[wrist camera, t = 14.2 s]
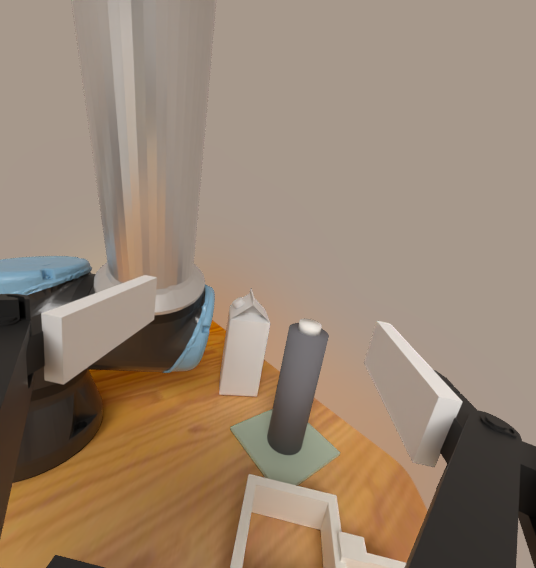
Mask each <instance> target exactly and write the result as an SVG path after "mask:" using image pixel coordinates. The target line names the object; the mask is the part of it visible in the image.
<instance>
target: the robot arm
mask: <svg viewBox="0 0 536 568" xmlns="http://www.w3.org/2000/svg"><path fill="white" fill-rule="evenodd" d="M71 2H72V10H73V17H74V24H75V32H76V39H77V46H78V53H79V60H80V67H81V75H82V82H83V89H84V96H85V103H86V110H87V118H88V125H89V132H90V139H91V146H92V154H93V161H94V168H95V175H96V183H97V189H98V197H99V204H100V211H101V219H102V225H103V233H104V240H105V247H106V254H107V263H106V264H104V265H103V266H102V267H101V268H100V269H99V270H98V271H97V273H96V274H91V273H90V271H91V270H92V268H91V266H90V264H89V262H88V261H87V260H85V259H80V258H78V257H68V256H39V257H22V258H11V259H3V260H0V537H1V533H2V528H3V524H4V519H5V514H6V510H7V505H8V501H9V496H10V491H11V487H12V483H13V482H17V481H21V480H24V479H27V478H30V477H33V476H36V475H38V474H41V473H43V472H45V471H47V470H49V469H52V468H53V467H55V466H57V465H59V464H61V463H62V462H64V461H66V460H67V459H69V458H70V457H72V456H73V455H75V454H76V453H77V452H78V451H80V450H81V449H82V448H83V447H84V446H85V445H86V444H87V443H88V442H89V441H90V440H91V439H92V438H93V437H94V435H95V434H96V432H97V431H98V429H99V427H100V425H101V422H102V411H103V403H102V398H101V395H100V393H99V391H98V389H97V387H96V385H95V382H94V380H93V378H92V376H91V374H90V372H89V369H96V370H121V371H146V372H163V373H169V372H172V371H189V370H192V369H194V368H195V367H196V366H197V365H198V364H199V362H200V360H201V358H202V356H203V353H204V351H205V347H206V344H207V340H208V336H209V328H210V325H211V322H212V317H213V310H214V300H215V298H214V297H215V296H214V295H215V294H214V290H213V288H212V287H210V286H207V285H205V280H204V275H203V273H202V272H201V270H200V269H199V268H198V267H197V266H196V265H195V264H194V254H195V242H196V230H197V218H198V206H199V195H200V184H201V172H202V160H203V149H204V137H205V125H206V113H207V102H208V91H209V79H210V66H211V56H212V44H213V31H214V21H215V9H216V0H71ZM364 364H365V366H366V368H367V370H368V372H369V374H370V376H371V378H372V380H373V382H374V384H375V387H376V389H377V391H378V393H379V395H380V397H381V399H382V401H383V403H384V405H385V407H386V409H387V411H388V413H389V415H390V417H391V419H392V421H393V423H394V425H395V427H396V430H397V431H398V434H399V436H400V438H401V440H402V442H403V444H404V446H405V448H406V450H407V452H408V454H409V456H410V458H411V460H412V462H413V463H417V464H422V465H426V466H431V467H435V465H436V463H437V461H438V458H439V456H440V454H442V456H443V458H444V459H445V461H446V462H447V466H446V468H445V470H444V473H443V475H442V477H441V479H440V482H439V484H438V486H437V488H436V492H435V495H434V497H433V499H432V502H431V504H430V507H429V509H428V512H427V514H426V517H425V519H424V521H423V524H422V526H421V529H420V531H419V534H418V536H417V538H416V541H415V543H414V546H413V548H412V551H411V553H410V556H409V558H408V560H407V563H406V565H405V568H516V554H517V532H518V531H517V530H518V518H519V521H520V524H521V527H522V529H523V533H524V536H525V539H526V542H527V545H528V548H529V552H530V554H531V558H532V560H533V564H534V567H535V568H536V446H533V445H530V444H528V443H525V442H522V439H521V437H520V434H519V433H518V432H517V431H516V430H515V429H514V428H512V427H511V426H510V425H509V424H507V423H506V422H504V421H503V420H501V419H499V418H497V417H496V416H493V415H491V414H489V413H486V412H482V411H477V409H476V408H474V406H473V405H472V404H471V403H470V402H469V401H468V400H467V399H466V398H465V397H464V396H463V395H462V394H460V392H459V391H458V390H457V389H456V388H455V387H454V386H453V385H452V384H451V382H450V381H449V380H448V379H447V378H445V377H444V376H442V375H441V374H440V373H438V372H437V371H435V370H433V369H432V368H431V367H430V366H429V365H428V364H427V363H426V362H425V361H424V359H423V358H422V357H421V356H420V355H419V354H418V353H417V352H416V351H415V350H414V349H413V348H412V347H411V345H410V344H409V343H408V342H407V341H406V340H405V339H404V338H403V337H402V336H401V335H400V334H399V333H398V332H397V330H396V329H395V328H394V327H393V326H392V325H391V324H390V323H385V322H380V321H377V322H376V325H375V328H374V331H373V335H372V338H371V341H370V345H369V348H368V352H367V355H366V358H365V361H364ZM46 568H104V567H101V566H97V565H93V564H89V563H85V562H81V561H77V560H73V559H70V558H66V557H62V556H58V555H55V556H54V557H53V559H52V560H51V562H50V563H49V564H48V566H47V567H46Z"/></svg>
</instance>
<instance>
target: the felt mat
mask: <svg viewBox="0 0 536 568" xmlns="http://www.w3.org/2000/svg"><path fill="white" fill-rule="evenodd" d="M272 410H273V409H271V410H269V411H267V412H264V413H262V414H259V415H257V416H255V417H252V418H250V419H248V420H245V421H243V422H241V423H238V424H236V425H233V426H231V428H230V430H231V431H232V433H233V434H234V435H235V437H236V438H237V439H238V441H239V442H240V443H241V445H242V446H243V448H244V449H245V450H246V452H247V453H248V454H249V456H250V457H251V459H252V460H253V461H254V463H255V464H256V465H257V467H258V468H259V470H260V471H261V472H262V474H263V475H264V476H265V478H268V479H272V480H276V481H280V482H284V483H288V484H292V485H296V486H298V485H299V484H300V483H302V482H303V481H304V480H306V479H307V478H309V477H310V476H311V475H313V474H314V473H315V472H317V471H318V470H320V469H321V468H322V467H324V466H325V465H326V464H328V463H329V462H331V461H332V460H333V459H335V458H336V457H338V456H339V455H340V452H339V451H338V450H337V449H336V448H335V447H334V446H333V445H332V444H331V443H330V442H328V441H327V440H326V439H325V438H324V437H323V436H322V435H321V434H320V433H319V432H318V431H317V430H316V429H314V428H313V427H312V426H311V425H310V424H309V423H307V427H306V432H305V436H304V440H303V444H302V448H301V450H300V451H299V452H298V453H296V454H294V455H283V454H280V453H278V452H276V451H275V450H273V449H272V448H271V446H270V445H269V443H268V440H267V434H268V429H269V425H270V420H271V415H272Z"/></svg>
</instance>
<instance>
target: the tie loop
mask: <svg viewBox="0 0 536 568" xmlns="http://www.w3.org/2000/svg"><path fill="white" fill-rule="evenodd" d="M251 512H253V513H257V514H260V515H264V516H268V517H272V518H276V519H280V520H284V521H288V522H292V523H295V524H299V525H303V526H307V527H311V528H315V529H319V530H321V543H322V557H323V568H405V565H406V563H405V562H401V561H397V560H393V559H389V558H385V557H382V556H378V555H374V554H370V553H367V551H366V546H365V541H364V537H360V536H356V535H352V534H348V533H345V532H342V531H341V524H340V517H339V510H338V503H337V496H336V495H333V494H329V493H325V492H321V491H317V490H312V489H308V488H304V487H300V486H296V485H292V484H288V483H284V482H280V481H276V480H272V479H268V478H264V477H260V476H256V475H252V474H249V475H248V480H247V485H246V490H245V495H244V500H243V505H242V510H241V515H240V520H239V525H238V530H237V535H236V540H235V545H234V550H233V555H232V560H231V565H230V568H242V567H243V560H244V554H245V548H246V542H247V536H248V530H249V524H250V518H251Z"/></svg>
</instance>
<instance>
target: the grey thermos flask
mask: <svg viewBox="0 0 536 568" xmlns="http://www.w3.org/2000/svg"><path fill="white" fill-rule="evenodd" d="M321 327H322V325H321V324H320V323H319V322H317V321H314V320H311V319H301V320H300V322H299V323H295V324H292V325H290V327H289V332H288V336H287V341H286V346H285V351H284V356H283V361H282V366H281V371H280V375H279V380H278V385H277V390H276V395H275V400H274V405H273V410H272V415H271V420H270V425H269V429H268V434H267V440H268V443H269V445H270V446H271V448H272V449H273V450H275V451H276V452H278V453H280V454H283V455H294V454H296V453H298V452H299V451H300V450H301V448H302V444H303V440H304V436H305V432H306V427H307V423H308V419H309V415H310V411H311V407H312V403H313V399H314V394H315V390H316V386H317V382H318V378H319V374H320V370H321V366H322V361H323V357H324V353H325V349H326V345H327V341H328V337H329V335H328V333H327V332H326V331H324V330H323V329H321Z"/></svg>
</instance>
